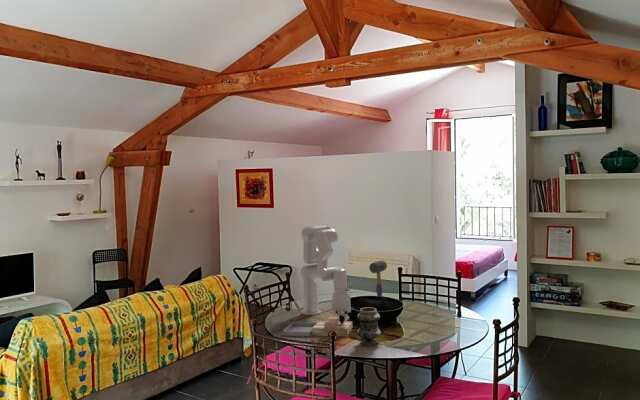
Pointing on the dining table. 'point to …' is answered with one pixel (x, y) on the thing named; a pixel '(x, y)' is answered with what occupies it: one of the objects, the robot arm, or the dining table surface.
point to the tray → (299, 329)
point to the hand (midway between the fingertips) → (342, 322)
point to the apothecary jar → (368, 326)
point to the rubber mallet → (378, 274)
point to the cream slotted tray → (332, 329)
